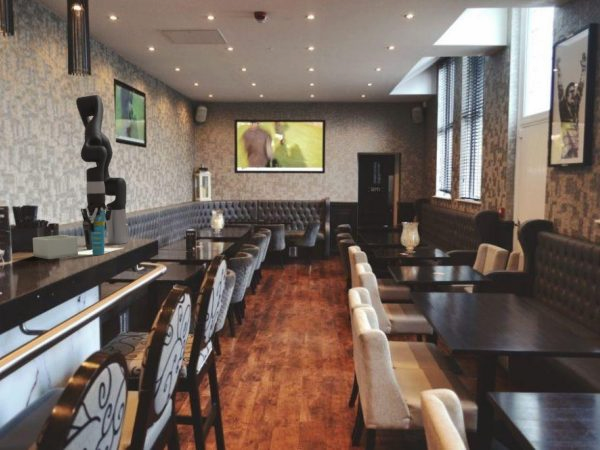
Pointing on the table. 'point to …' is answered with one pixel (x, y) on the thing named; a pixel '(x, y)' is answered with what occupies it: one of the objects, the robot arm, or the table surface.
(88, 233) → the beverage cup
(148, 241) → the table surface
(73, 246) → the bin
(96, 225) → the tube
